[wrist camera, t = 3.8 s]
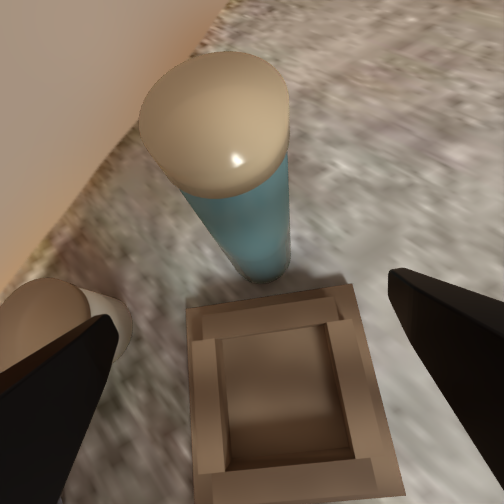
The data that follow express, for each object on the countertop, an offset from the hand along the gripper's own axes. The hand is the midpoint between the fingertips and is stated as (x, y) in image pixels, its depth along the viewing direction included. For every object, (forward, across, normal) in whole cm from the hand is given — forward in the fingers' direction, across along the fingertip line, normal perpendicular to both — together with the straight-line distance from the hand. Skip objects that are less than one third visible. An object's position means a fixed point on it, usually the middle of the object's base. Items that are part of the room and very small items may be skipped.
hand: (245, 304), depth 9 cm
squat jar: (+10, +13, +8) cm, 18 cm away
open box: (+6, 0, +11) cm, 13 cm away
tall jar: (+13, 0, +4) cm, 13 cm away
